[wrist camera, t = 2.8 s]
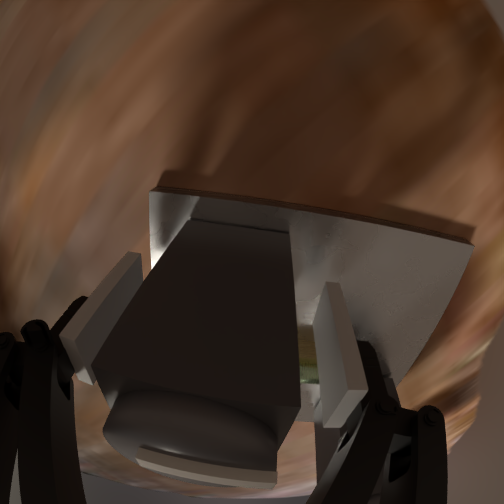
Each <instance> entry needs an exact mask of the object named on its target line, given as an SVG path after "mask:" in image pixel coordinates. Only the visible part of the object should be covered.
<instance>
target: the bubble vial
mask: <svg viewBox="0 0 504 504" xmlns="http://www.w3.org/2000/svg"><path fill="white" fill-rule="evenodd" d="M298 347H299V366H300V383H304V384H319V375H318V365H317V356H316V347H315V342H314V341H304V340H298Z"/></svg>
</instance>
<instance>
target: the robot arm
mask: <svg viewBox="0 0 504 504" xmlns="http://www.w3.org/2000/svg"><path fill="white" fill-rule="evenodd" d="M142 283H143V273H142V261H141V253H135V252H129V251H128V252H127V253H126V254H125V256H124V257H123V258H122V259H121V260H120V261H119V262H118V263H117V265H116V266H115V267H114V268H113V269H112V270H111V271H110V273H109V274H108V275H107V276H106V277H105V278H104V279H103V281H102V282H101V283H100V284H99V285H98V287H97V288H96V289H95V290H94V291H93V293H92V294H91V295H90V296H89V297H86V296H81V297H79V298H78V299H76V300H75V301H73V303H72V304H71V305H70V306H69V307H68V310H66V311H65V312H64V313H63V315H62V316H61V317H60V318H59V320H58V321H57V322H56V323H55V325H54V326H53V327H52V328H51V330H49V327H48V325H47V323H46V322H45V321H43V320H38V319H36V320H31V321H29V322H27V323H26V324H25V325H24V326H23V327H22V329H21V331H20V332H21V334H22V336H23V338H24V340H25V342H17V341H16V339H15V337H14V336H13V334H12V333H9V332H3V333H0V504H9V497H10V490H11V482H12V475H13V469H14V464H15V458H16V454H17V449H18V470H19V484H20V494H21V502H22V504H86V499H85V494H84V489H83V484H82V478H81V472H80V465H79V458H78V450H77V441H76V430H75V415H74V384H73V380H72V378H71V377H72V376H73V374H74V372H75V373H76V375H77V377H78V379H79V380H80V381H83V382H86V383H88V384H91V385H94V383H95V381H96V377H95V375H94V372H93V370H92V368H91V364H92V362H93V360H94V358H95V357H96V355H97V353H98V352H99V350H100V348H101V347H102V345H103V343H104V342H105V340H106V339H107V337H108V335H109V334H110V332H111V330H112V329H113V327H114V326H115V324H116V323H117V321H118V319H119V318H120V316H121V315H122V313H123V312H124V310H125V308H126V307H127V305H128V304H129V302H130V301H131V299H132V298H133V296H134V295H135V293H136V292H137V290H138V289H139V287H140V286H141V284H142ZM312 323H313V331H314V339H315V347H316V356H317V365H318V375H319V385H320V395H321V406H322V418H323V428H341V427H342V426H343V424H344V423H345V422H346V423H347V431H346V432H345V433H344V434H343V436H342V437H341V438H340V439H339V440H338V442H339V445H338V447H337V449H336V451H335V453H334V455H333V457H332V459H331V461H330V463H329V465H328V466H327V468H326V470H325V472H324V474H323V475H322V477H321V479H320V481H319V482H318V484H317V486H316V487H315V489H314V491H313V492H312V494H311V496H310V497H309V499H308V501H307V502H306V504H368V501H369V499H370V497H371V495H372V492H373V490H374V488H375V485H376V483H377V480H378V478H379V475H380V473H381V470H382V468H383V465H384V462H385V465H384V474H383V482H382V490H381V496H380V503H379V504H447V483H448V480H447V478H448V473H447V444H446V431H445V420H444V416H443V414H442V413H441V411H440V410H439V409H438V408H436V407H434V406H431V405H428V406H424V407H422V408H421V409H420V410H419V411H418V412H417V411H413V410H409V409H405V408H402V407H399V404H398V402H397V401H396V400H395V399H394V398H392V397H391V396H389V395H388V392H387V388H386V385H385V381H384V378H383V374H382V371H381V368H380V364H379V361H378V357H377V354H376V351H375V349H374V348H373V346H372V345H371V344H370V342H369V341H360V340H356V338H355V334H354V330H353V327H352V323H351V320H350V316H349V313H348V309H347V306H346V302H345V299H344V296H343V292H342V289H341V286H340V283H336V282H328V281H325V284H324V287H323V290H322V294H321V297H320V300H319V303H318V306H317V310H316V313H315V316H314V319H313V322H312Z"/></svg>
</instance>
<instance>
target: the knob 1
mask: <svg viewBox="0 0 504 504" xmlns="http://www.w3.org/2000/svg"><path fill="white" fill-rule="evenodd" d="M91 368H92V370H93V372H94V375H95V377H96V379H97V382H98V384H99V386H100V388H101V391H102V393H103V395H104V397H105V399H106V401H107V403H108V405H109V407H110V409H111V411H110V413H109V415H108V418H107V420H106V422H105V425H104V427H103V435H104V437H105V439H106V440H107V441H108V443H109V444H110V445H111V446H112V447H113V448H114V449H115V450H117V451H118V452H119V453H120V454H122V455H123V456H125V457H126V458H128V459H129V460H131V461H133V462H134V463H136V464H138V465H140V466H142V467H144V468H146V469H148V470H151V471H153V472H155V473H158V474H161V475H163V476H166V477H169V478H173V479H176V480H180V481H184V482H188V483H193V484H198V485H205V486H214V487H246V488H258V489H273V487H274V486H275V485H276V484H277V473H278V472H276V470H277V452H278V450H279V448H280V446H281V444H282V443H283V441H284V439H285V437H286V435H287V434H288V432H289V430H290V428H291V426H292V424H293V422H294V420H295V418H296V417H297V415H298V413H299V411H300V409H301V387H300V366H299V347H298V330H297V315H296V301H295V288H294V275H293V263H292V252H291V241H290V234H284V233H278V232H271V231H264V230H257V229H250V228H243V227H236V226H229V225H222V224H214V223H207V222H199V221H192V220H187V221H186V223H185V224H184V225H183V227H182V228H181V229H180V231H179V232H178V233H177V235H176V236H175V238H174V239H173V240H172V242H171V243H170V244H169V246H168V247H167V249H166V250H165V251H164V253H163V254H162V256H161V257H160V258H159V260H158V261H157V263H156V264H155V266H154V267H153V268H152V270H151V271H150V273H149V274H148V276H147V277H146V279H145V280H144V281H143V283H142V284H141V286H140V287H139V289H138V290H137V292H136V293H135V295H134V296H133V298H132V299H131V301H130V302H129V304H128V305H127V307H126V308H125V310H124V312H123V313H122V315H121V316H120V318H119V319H118V321H117V323H116V324H115V326H114V327H113V329H112V330H111V332H110V334H109V335H108V337H107V339H106V340H105V342H104V343H103V345H102V347H101V348H100V350H99V352H98V353H97V355H96V357H95V358H94V360H93V362H92V364H91Z"/></svg>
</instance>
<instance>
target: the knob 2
mask: <svg viewBox="0 0 504 504" xmlns="http://www.w3.org/2000/svg"><path fill="white" fill-rule="evenodd" d="M384 381H385V385H386V388H387V392H388V395H389V396H391V397H392V398H394V399H395V400H396V401H397V402H398V404H399V407H401V405H400V401H399V398H398V394H397V391H396V387H395V384H394V381H393V378H384ZM314 426H315V446H316V472H317V484H318V482H319V481H320V479H321V477H322V475H323V474H324V472H325V470H326V468H327V466H328V465H329V463H330V461H331V459H332V457H333V455H334V453H335V451H336V449H337V447H338V445H339V442H338V440H339V439H340V438H341V437H342V436H343V434H344V433H345V432H346V431H347V423H346V422H345V423H344V424H343V426H342V427H341V428H323V418H322V406H321V400H320V402H319V403H318V405H317V407H316V409H315V410H314ZM384 465H385V462H384ZM384 465H383V468H382V470H381V473H380V475H379V478H378V480H377V483H376V485H375V488H374V490H373V492H372V495H371V497H370V499H369V501H368V504H379V503H380V496H381V490H382V482H383V474H384Z"/></svg>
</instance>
